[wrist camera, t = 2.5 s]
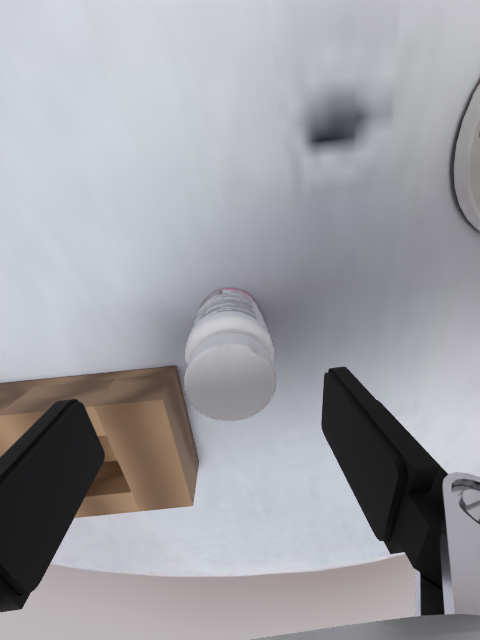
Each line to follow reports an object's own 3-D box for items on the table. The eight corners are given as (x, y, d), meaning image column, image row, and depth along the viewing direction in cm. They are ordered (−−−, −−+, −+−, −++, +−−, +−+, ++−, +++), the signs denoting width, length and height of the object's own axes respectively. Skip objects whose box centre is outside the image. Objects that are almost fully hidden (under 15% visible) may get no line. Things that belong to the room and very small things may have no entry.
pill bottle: (256, 345, 18) (275, 431, 10) (198, 341, 18) (173, 427, 10) (264, 289, 16) (295, 342, 9) (200, 283, 16) (171, 333, 8)
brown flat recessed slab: (176, 365, 19) (162, 400, 15) (198, 461, 23) (192, 507, 19) (-13, 384, 19) (-76, 424, 15) (47, 477, 23) (11, 525, 19)
